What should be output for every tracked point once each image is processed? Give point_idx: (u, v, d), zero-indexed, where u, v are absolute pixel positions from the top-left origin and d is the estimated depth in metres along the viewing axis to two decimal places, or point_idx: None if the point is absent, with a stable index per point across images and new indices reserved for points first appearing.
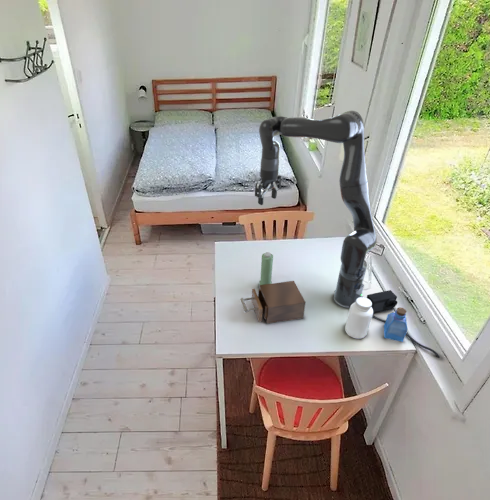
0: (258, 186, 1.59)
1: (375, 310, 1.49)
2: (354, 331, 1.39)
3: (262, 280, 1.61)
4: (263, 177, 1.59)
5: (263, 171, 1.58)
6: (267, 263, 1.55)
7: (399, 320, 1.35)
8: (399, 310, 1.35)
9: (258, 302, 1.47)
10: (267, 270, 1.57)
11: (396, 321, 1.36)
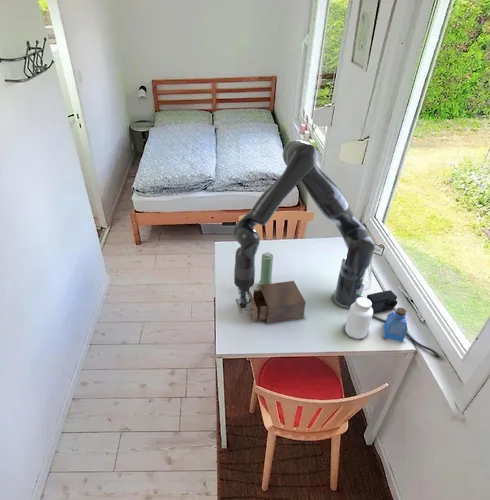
0: (248, 301, 1.41)
1: (375, 310, 1.49)
2: (354, 331, 1.39)
3: (262, 280, 1.61)
4: (247, 286, 1.39)
5: (246, 281, 1.38)
6: (267, 263, 1.55)
7: (399, 320, 1.35)
8: (399, 310, 1.35)
9: (253, 303, 1.47)
10: (267, 270, 1.57)
11: (396, 321, 1.36)
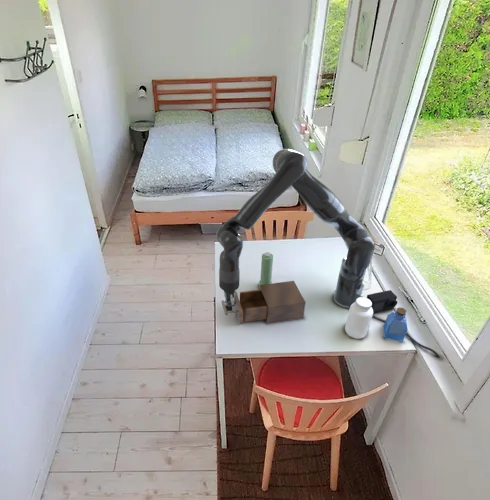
0: (233, 304, 1.40)
1: (375, 310, 1.49)
2: (354, 331, 1.39)
3: (262, 280, 1.61)
4: (231, 289, 1.39)
5: (231, 284, 1.37)
6: (267, 263, 1.55)
7: (399, 320, 1.35)
8: (399, 310, 1.35)
9: (239, 305, 1.46)
10: (267, 270, 1.57)
11: (396, 321, 1.36)
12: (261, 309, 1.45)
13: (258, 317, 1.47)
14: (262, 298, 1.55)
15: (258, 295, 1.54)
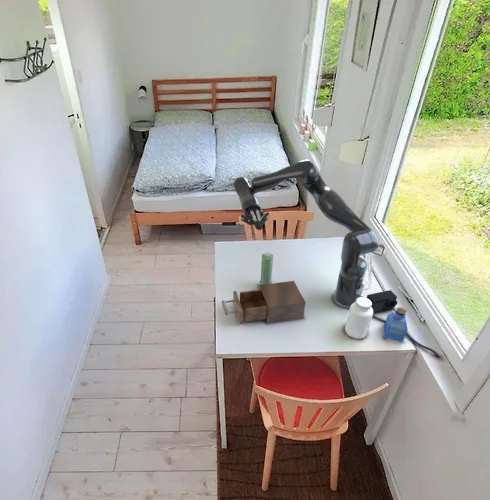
0: (241, 217, 1.63)
1: (375, 310, 1.49)
2: (354, 331, 1.39)
3: (262, 280, 1.61)
4: (244, 210, 1.67)
5: (242, 207, 1.69)
6: (267, 263, 1.55)
7: (399, 320, 1.35)
8: (399, 310, 1.35)
9: (239, 305, 1.46)
10: (267, 270, 1.57)
11: (396, 321, 1.36)
12: (261, 309, 1.45)
13: (258, 317, 1.47)
14: (262, 298, 1.55)
15: (258, 295, 1.54)
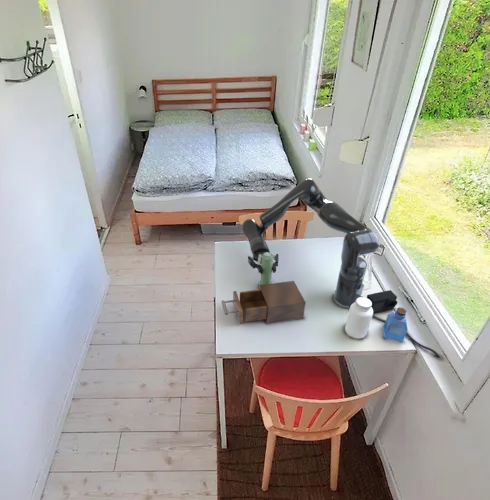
0: (248, 259, 1.64)
1: (375, 310, 1.49)
2: (354, 331, 1.39)
3: (262, 280, 1.61)
4: (252, 253, 1.68)
5: (251, 250, 1.70)
6: (267, 263, 1.55)
7: (399, 320, 1.35)
8: (399, 310, 1.35)
9: (239, 305, 1.46)
10: (267, 270, 1.57)
11: (396, 321, 1.36)
12: (261, 309, 1.45)
13: (258, 317, 1.47)
14: (262, 298, 1.55)
15: (258, 295, 1.54)
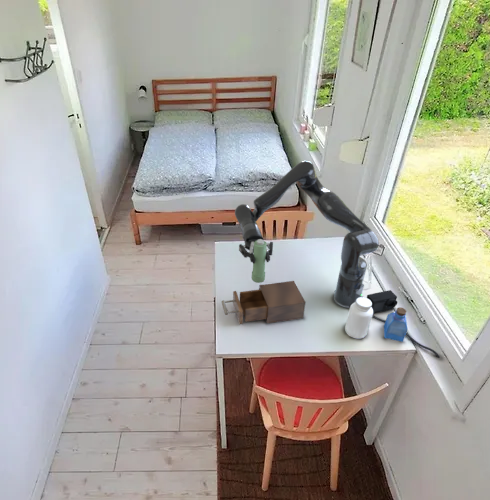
0: (239, 247, 1.49)
1: (375, 310, 1.49)
2: (354, 331, 1.39)
3: (254, 270, 1.46)
4: (244, 241, 1.52)
5: (243, 237, 1.55)
6: (260, 251, 1.40)
7: (399, 320, 1.35)
8: (399, 310, 1.35)
9: (239, 305, 1.46)
10: (260, 259, 1.42)
11: (396, 321, 1.36)
12: (261, 309, 1.45)
13: (258, 317, 1.47)
14: (262, 298, 1.55)
15: (258, 295, 1.54)
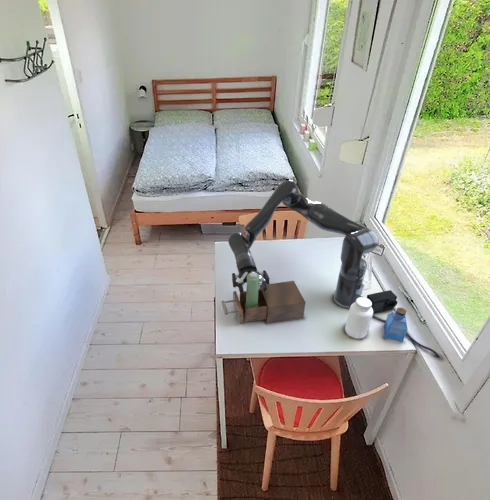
0: (232, 275, 1.51)
1: (375, 310, 1.49)
2: (354, 331, 1.39)
3: (248, 302, 1.48)
4: (238, 270, 1.53)
5: (237, 267, 1.56)
6: (253, 284, 1.41)
7: (399, 320, 1.35)
8: (399, 310, 1.35)
9: (239, 305, 1.46)
10: (253, 291, 1.43)
11: (396, 321, 1.36)
12: (261, 309, 1.45)
13: (258, 317, 1.47)
14: (262, 298, 1.55)
15: (258, 295, 1.54)
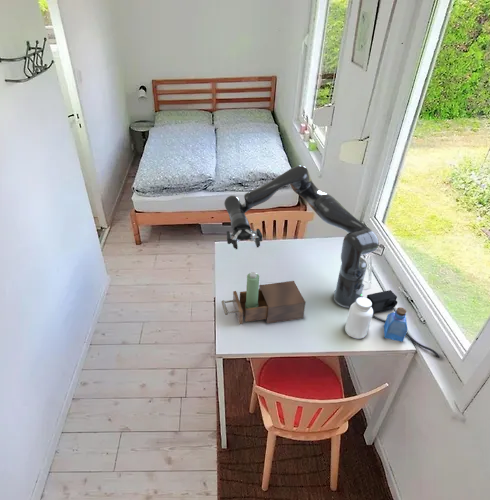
0: None
1: (375, 310, 1.49)
2: (354, 331, 1.39)
3: (248, 302, 1.48)
4: (233, 229, 1.59)
5: (232, 227, 1.61)
6: (253, 284, 1.41)
7: (399, 320, 1.35)
8: (399, 310, 1.35)
9: (239, 305, 1.46)
10: (253, 291, 1.43)
11: (396, 321, 1.36)
12: (261, 309, 1.45)
13: (258, 317, 1.47)
14: (262, 298, 1.55)
15: (258, 295, 1.54)
